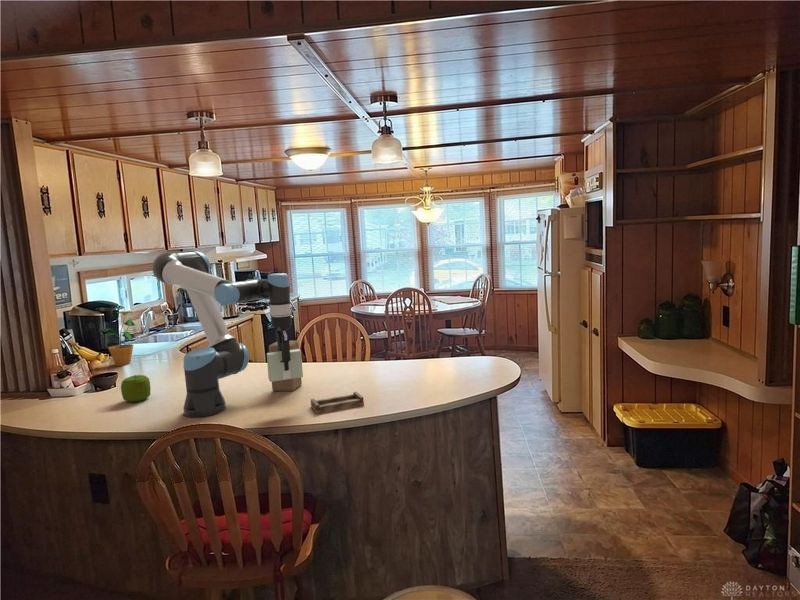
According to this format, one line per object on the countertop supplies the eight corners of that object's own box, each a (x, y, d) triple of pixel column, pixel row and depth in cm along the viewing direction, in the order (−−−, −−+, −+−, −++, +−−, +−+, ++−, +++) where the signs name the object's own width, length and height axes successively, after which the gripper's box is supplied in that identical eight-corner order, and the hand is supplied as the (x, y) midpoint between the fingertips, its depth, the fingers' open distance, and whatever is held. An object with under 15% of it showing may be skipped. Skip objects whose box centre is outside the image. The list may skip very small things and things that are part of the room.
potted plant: (148, 361, 297) (142, 308, 293) (116, 369, 281) (109, 313, 277) (129, 359, 306) (123, 307, 302) (97, 366, 290) (90, 312, 286)
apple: (124, 398, 225) (121, 373, 223) (152, 394, 228) (149, 370, 227) (121, 406, 214) (117, 379, 213) (150, 401, 218) (147, 376, 217)
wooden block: (293, 391, 221) (289, 344, 219) (271, 391, 223) (267, 345, 221) (302, 384, 231) (299, 339, 228) (281, 384, 233) (277, 340, 230)
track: (316, 413, 192) (316, 405, 191) (311, 406, 200) (310, 399, 199) (364, 405, 198) (363, 397, 198) (356, 398, 207) (356, 391, 206)
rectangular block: (270, 381, 194) (268, 355, 192) (268, 379, 197) (266, 353, 196) (302, 377, 198) (300, 350, 197) (300, 374, 202) (298, 348, 201)
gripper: (295, 317, 188) (300, 381, 191) (286, 311, 204) (291, 370, 207) (274, 319, 186) (279, 384, 188) (267, 313, 201) (271, 373, 204)
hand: (285, 377), depth 198 cm, fingers closed on rectangular block, 4 cm apart
